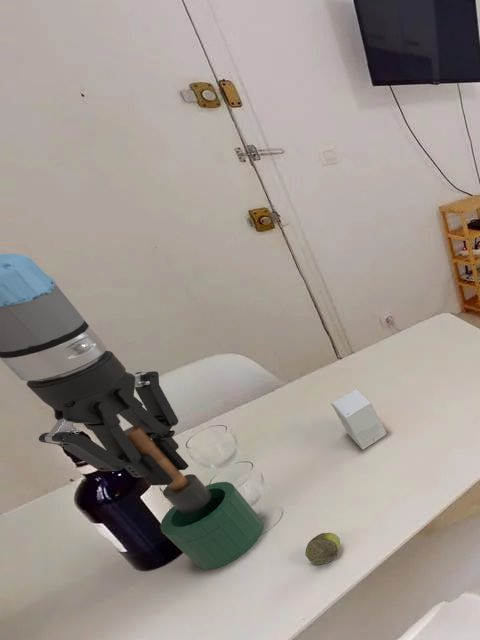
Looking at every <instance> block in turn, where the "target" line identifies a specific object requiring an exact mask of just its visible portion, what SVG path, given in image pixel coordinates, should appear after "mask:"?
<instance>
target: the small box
mask: <svg viewBox="0 0 480 640" xmlns="http://www.w3.org/2000/svg"><path fill="white" fill-rule="evenodd" d="M330 405H331V406H332V408H333V410H334V411H335V413H336V415H337V417H338V419H339V420H340V422H341V424H342V426H343V427H344V429H345V431H346V433H347V435H348V436H349V437H350V438H351V439H352V441H354V442H355V443H356V445H358V447H359V448H360V450H363V451H364V450H365V449H366V448H368V447H370V446H371V445H373V444H374V443H376V442H378V441H379V440H381V439H382V438H383V437H385V436H386V435H387V434H388V433H387V431H386V429H385V427H384V425H383V423H382V421H381V419H380V416H379V414H378V413H377V411H376V409H375V407H374V404H373V403H372V401H370V399H368V398H367V397H366V396H365V395H364V394H363V393H362V392H361V391H360V390H358V389H354V390H352V391H350V392H349V393H347V394H344V395H343V396H342V397H340V398H338V399H336V400H334V401H332V402H331V404H330Z"/></svg>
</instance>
